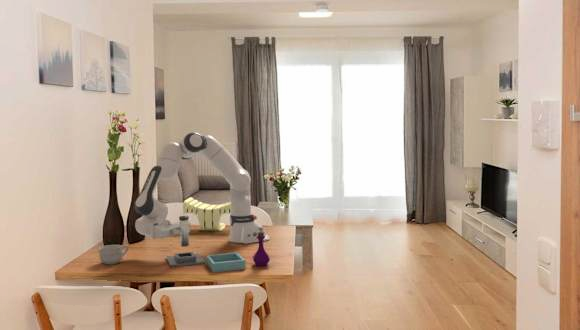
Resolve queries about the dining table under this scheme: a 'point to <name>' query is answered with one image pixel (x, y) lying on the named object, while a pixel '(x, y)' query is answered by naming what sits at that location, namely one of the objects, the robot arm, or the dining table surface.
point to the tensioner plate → (185, 259)
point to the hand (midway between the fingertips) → (185, 231)
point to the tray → (225, 262)
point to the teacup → (112, 253)
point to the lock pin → (184, 230)
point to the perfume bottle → (261, 251)
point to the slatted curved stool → (207, 213)
